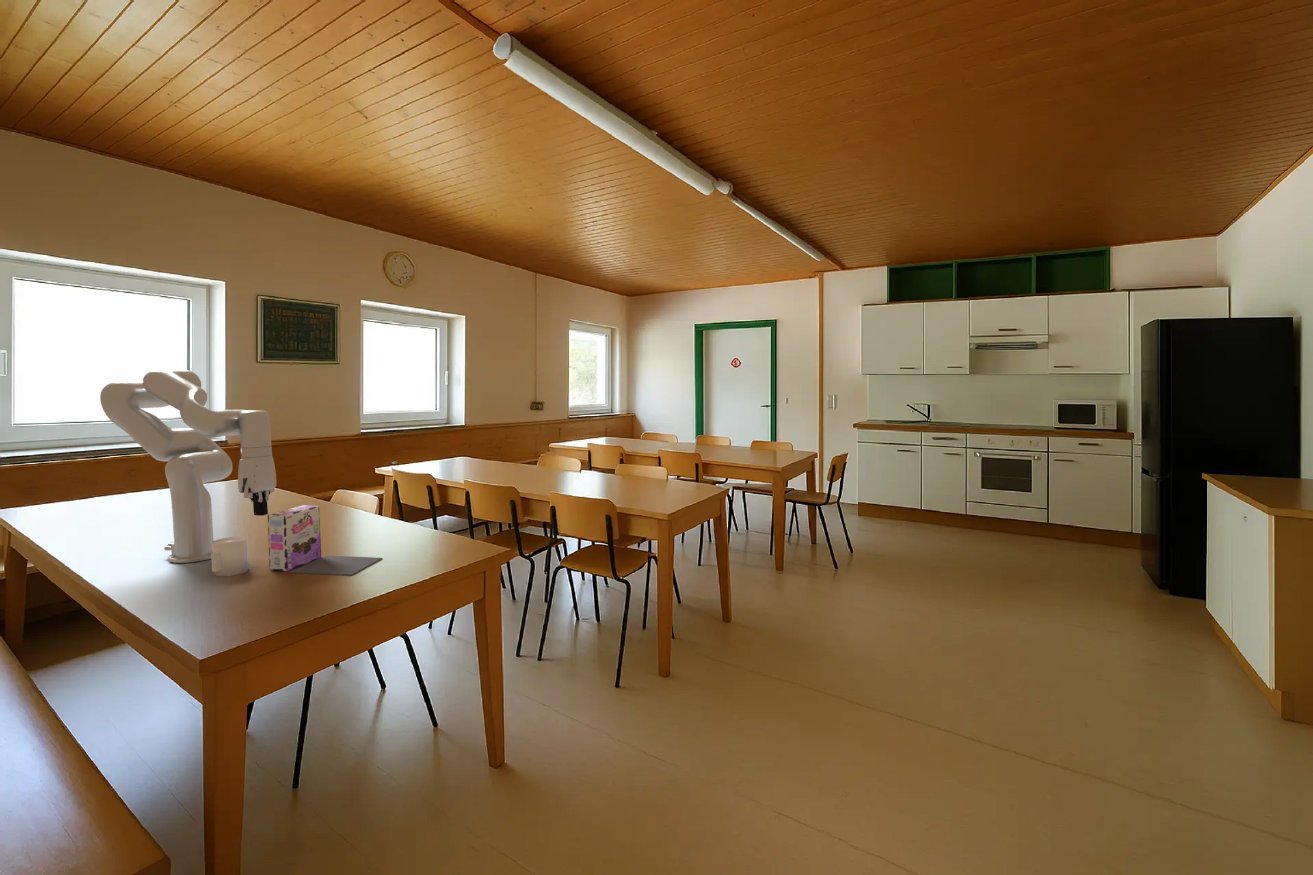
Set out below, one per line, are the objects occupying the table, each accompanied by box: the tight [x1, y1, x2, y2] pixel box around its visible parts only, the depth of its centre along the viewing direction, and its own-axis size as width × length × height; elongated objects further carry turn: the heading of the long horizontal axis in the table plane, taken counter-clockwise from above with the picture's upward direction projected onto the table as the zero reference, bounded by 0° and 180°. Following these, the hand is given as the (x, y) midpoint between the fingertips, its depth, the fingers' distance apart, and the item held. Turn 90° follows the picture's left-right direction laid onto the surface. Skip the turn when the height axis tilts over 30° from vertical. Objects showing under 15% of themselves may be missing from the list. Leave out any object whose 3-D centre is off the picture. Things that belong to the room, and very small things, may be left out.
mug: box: [210, 536, 249, 577], centre depth 171 cm, size 8×10×9 cm
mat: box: [290, 555, 383, 577], centre depth 179 cm, size 18×16×1 cm
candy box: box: [267, 504, 322, 572], centre depth 179 cm, size 14×6×16 cm, turn 168°
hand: (260, 514), depth 179 cm, fingers closed
